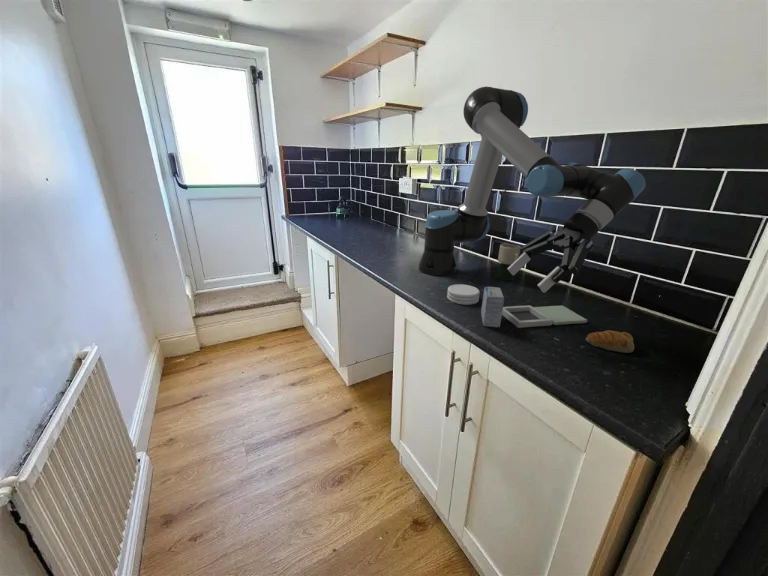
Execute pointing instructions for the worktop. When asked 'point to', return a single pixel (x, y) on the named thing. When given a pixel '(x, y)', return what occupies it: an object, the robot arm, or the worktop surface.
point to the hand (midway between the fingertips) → (524, 280)
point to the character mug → (507, 260)
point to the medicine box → (492, 306)
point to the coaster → (463, 294)
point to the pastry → (612, 341)
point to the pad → (561, 315)
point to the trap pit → (525, 316)
